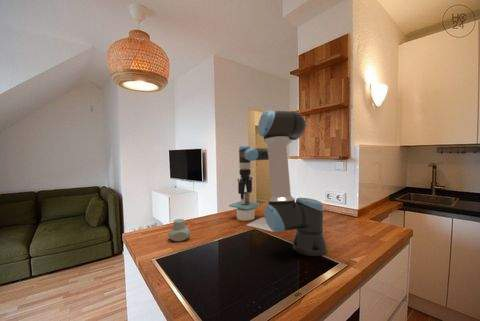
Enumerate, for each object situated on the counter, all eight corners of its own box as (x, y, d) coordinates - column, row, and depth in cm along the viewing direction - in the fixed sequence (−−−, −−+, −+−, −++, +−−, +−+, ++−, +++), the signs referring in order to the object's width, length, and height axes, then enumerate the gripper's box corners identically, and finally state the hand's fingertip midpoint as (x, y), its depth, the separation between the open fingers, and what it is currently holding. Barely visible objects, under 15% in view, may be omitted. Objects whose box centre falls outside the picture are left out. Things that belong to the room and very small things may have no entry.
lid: (248, 209, 135) (248, 195, 134) (229, 206, 144) (228, 193, 144) (261, 204, 147) (261, 191, 147) (243, 201, 157) (243, 189, 157)
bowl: (247, 222, 138) (247, 211, 137) (233, 219, 145) (233, 208, 145) (257, 217, 147) (257, 207, 147) (244, 214, 155) (243, 205, 154)
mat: (272, 232, 120) (272, 231, 120) (245, 225, 132) (245, 224, 132) (287, 223, 135) (287, 222, 135) (262, 217, 147) (262, 217, 147)
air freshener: (168, 243, 108) (167, 224, 108) (169, 237, 116) (168, 219, 115) (190, 240, 111) (190, 221, 110) (189, 234, 119) (189, 217, 118)
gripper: (248, 167, 154) (248, 199, 155) (232, 169, 140) (232, 204, 141) (257, 168, 149) (257, 201, 150) (241, 170, 135) (241, 206, 136)
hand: (245, 202), depth 146 cm, fingers closed on lid, 5 cm apart
